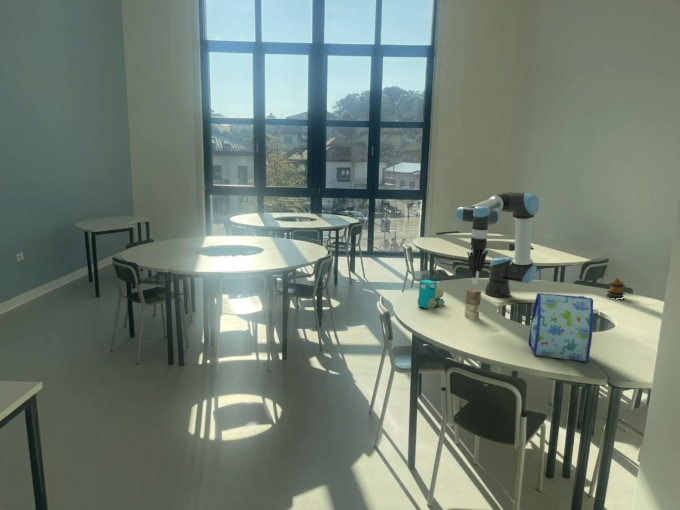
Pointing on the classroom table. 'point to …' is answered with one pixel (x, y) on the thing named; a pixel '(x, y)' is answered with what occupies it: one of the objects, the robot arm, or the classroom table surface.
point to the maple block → (472, 311)
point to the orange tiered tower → (616, 289)
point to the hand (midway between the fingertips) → (474, 283)
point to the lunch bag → (562, 326)
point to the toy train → (430, 295)
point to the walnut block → (473, 297)
